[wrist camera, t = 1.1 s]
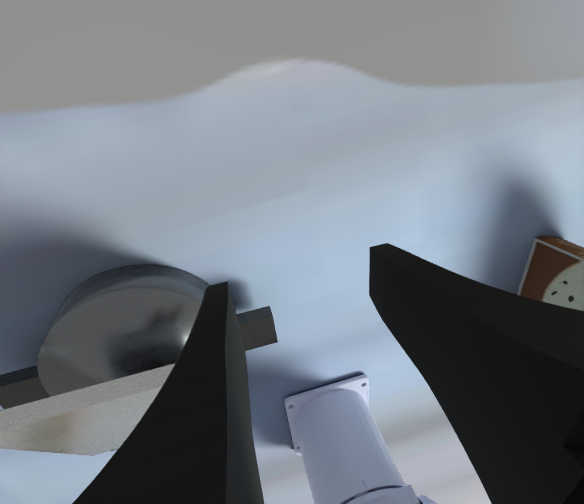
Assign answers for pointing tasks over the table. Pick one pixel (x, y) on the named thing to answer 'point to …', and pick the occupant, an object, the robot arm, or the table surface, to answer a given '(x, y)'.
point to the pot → (121, 331)
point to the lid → (83, 416)
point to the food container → (554, 273)
